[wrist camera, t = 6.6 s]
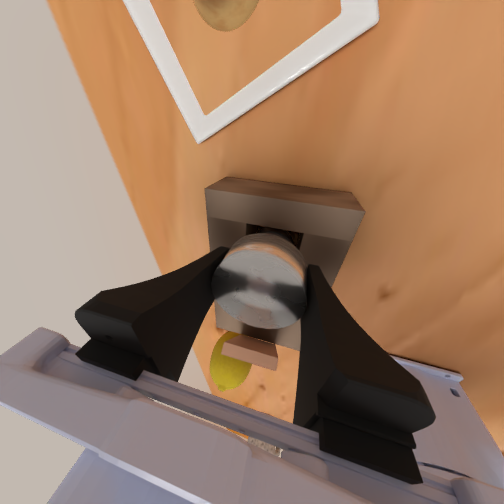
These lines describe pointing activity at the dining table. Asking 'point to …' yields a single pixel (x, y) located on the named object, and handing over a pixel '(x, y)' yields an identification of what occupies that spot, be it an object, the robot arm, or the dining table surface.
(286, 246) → the silver knob
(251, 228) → the socket block
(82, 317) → the robot arm
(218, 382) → the lemon
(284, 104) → the dining table surface
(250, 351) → the bar
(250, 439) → the mug
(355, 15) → the dessert
